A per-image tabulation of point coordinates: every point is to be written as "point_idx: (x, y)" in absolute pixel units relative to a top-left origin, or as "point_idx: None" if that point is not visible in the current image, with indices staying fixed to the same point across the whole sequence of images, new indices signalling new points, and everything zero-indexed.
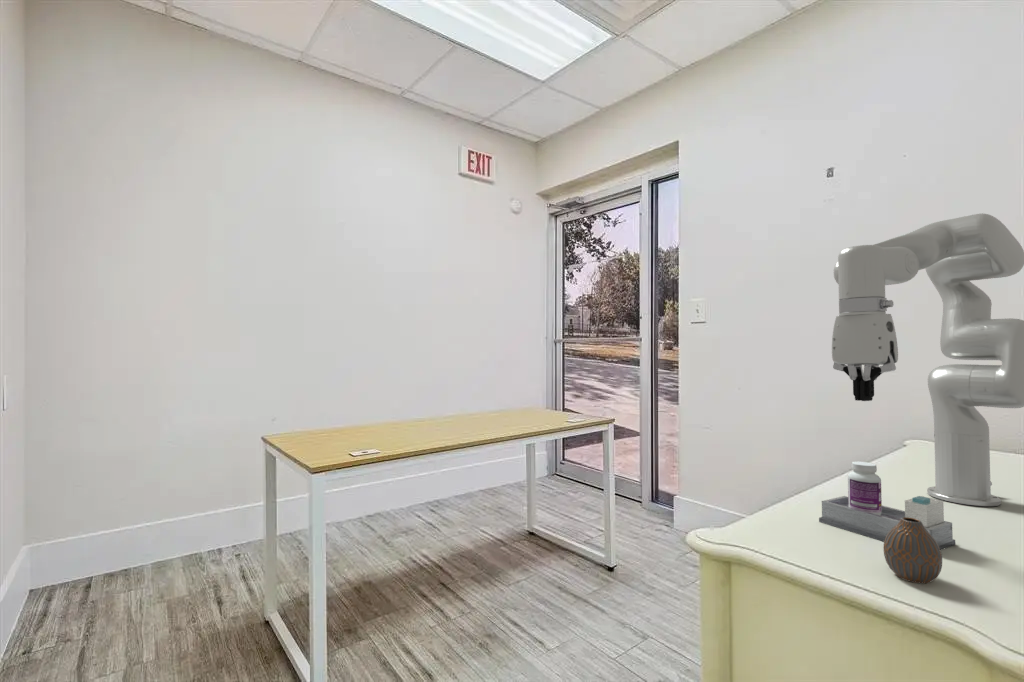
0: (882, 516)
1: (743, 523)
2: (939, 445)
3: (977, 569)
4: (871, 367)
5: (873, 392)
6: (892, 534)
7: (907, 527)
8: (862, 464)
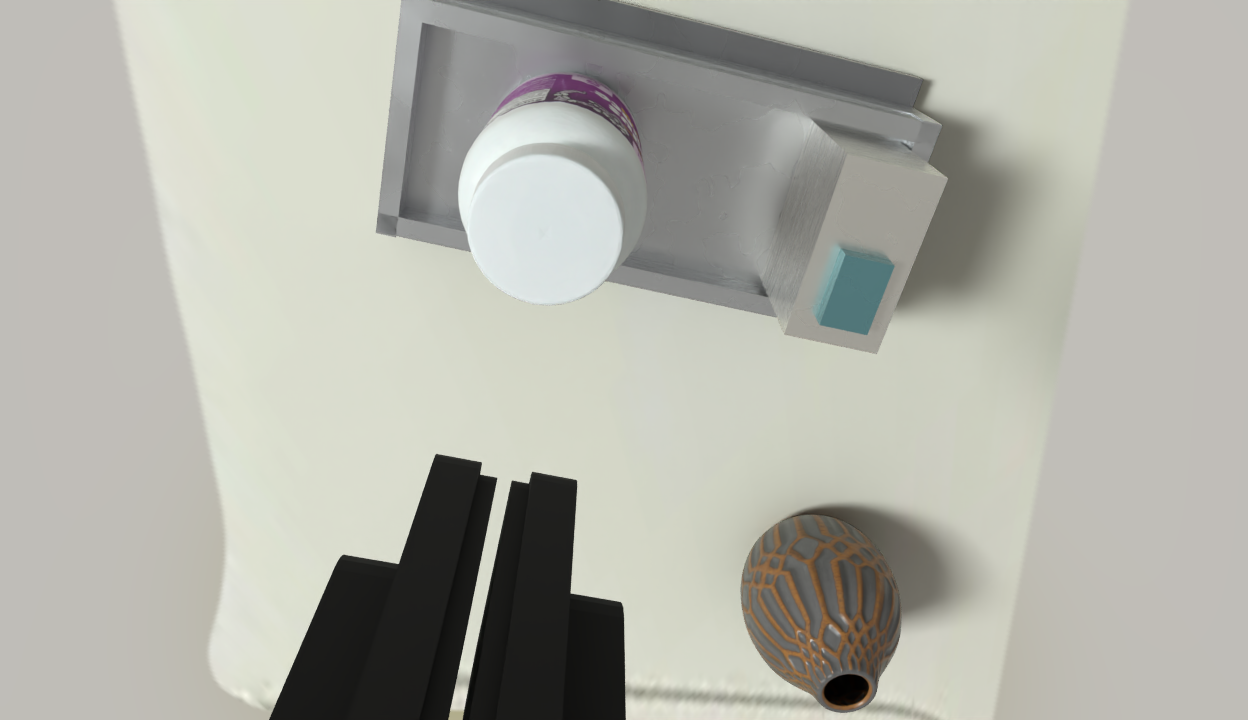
0: (672, 280)
1: (225, 490)
2: None
3: (968, 336)
4: None
5: (618, 654)
6: (782, 676)
7: (833, 703)
8: (550, 282)
